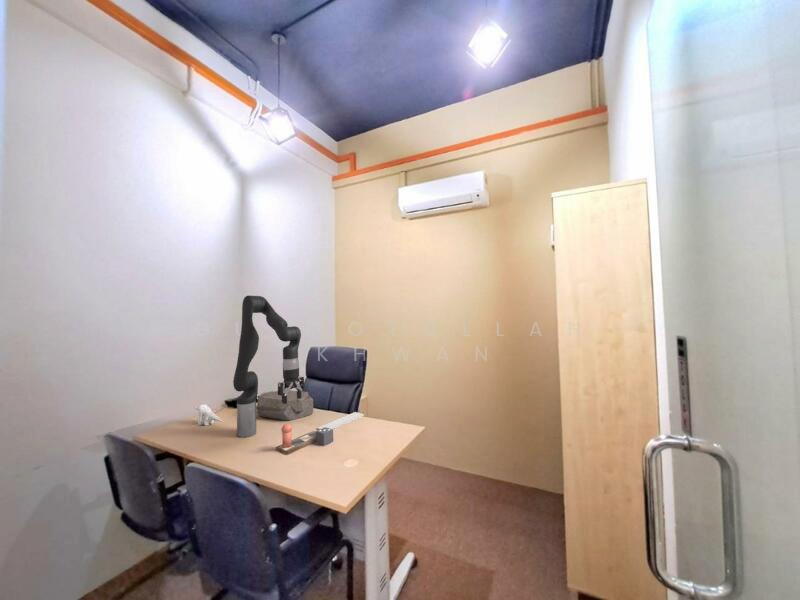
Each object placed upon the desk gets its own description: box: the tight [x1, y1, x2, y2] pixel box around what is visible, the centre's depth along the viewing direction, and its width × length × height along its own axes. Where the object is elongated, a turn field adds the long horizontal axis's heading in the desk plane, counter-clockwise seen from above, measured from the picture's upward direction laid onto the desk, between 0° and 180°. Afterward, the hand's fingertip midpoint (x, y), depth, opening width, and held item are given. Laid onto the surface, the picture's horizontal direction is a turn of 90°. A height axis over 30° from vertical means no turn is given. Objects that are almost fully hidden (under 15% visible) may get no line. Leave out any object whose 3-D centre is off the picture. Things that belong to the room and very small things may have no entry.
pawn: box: [281, 423, 293, 448], centre depth 144 cm, size 5×5×11 cm
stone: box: [256, 389, 314, 421], centre depth 194 cm, size 37×26×15 cm
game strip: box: [276, 430, 317, 456], centre depth 151 cm, size 9×22×2 cm, turn 145°
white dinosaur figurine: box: [193, 403, 224, 427], centre depth 179 cm, size 7×24×11 cm, turn 70°
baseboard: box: [315, 409, 365, 430], centre depth 179 cm, size 30×3×10 cm
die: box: [315, 427, 334, 447], centre depth 151 cm, size 6×6×6 cm
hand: (292, 401), depth 147 cm, fingers open, 8 cm apart
